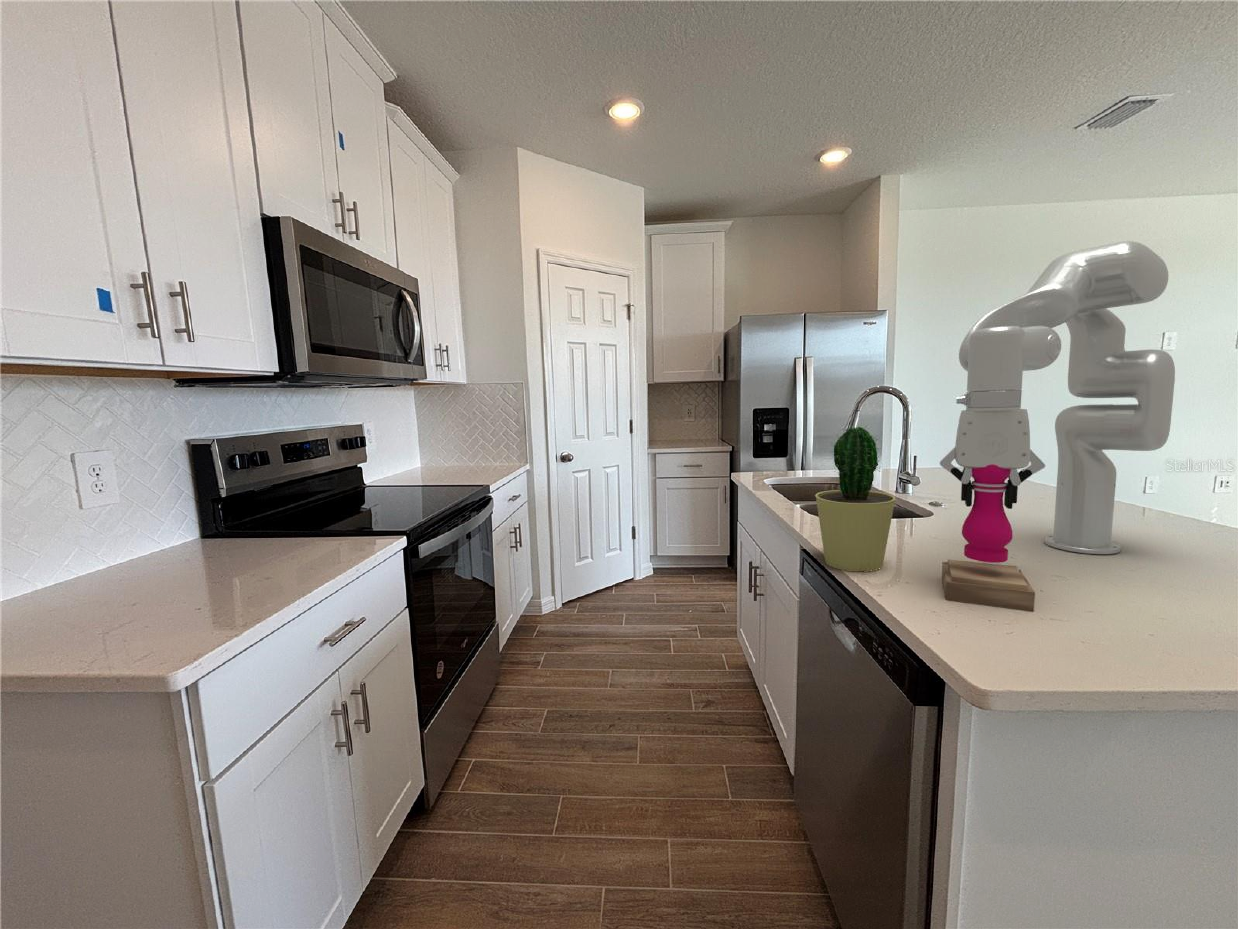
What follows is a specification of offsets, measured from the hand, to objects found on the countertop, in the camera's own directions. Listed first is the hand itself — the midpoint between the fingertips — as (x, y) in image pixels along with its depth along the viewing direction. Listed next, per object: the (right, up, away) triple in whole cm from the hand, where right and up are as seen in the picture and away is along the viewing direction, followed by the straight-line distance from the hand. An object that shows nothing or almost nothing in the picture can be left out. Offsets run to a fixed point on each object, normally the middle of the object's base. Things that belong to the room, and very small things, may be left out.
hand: (987, 505), depth 88 cm
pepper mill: (0, -10, +1) cm, 10 cm away
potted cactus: (-14, -14, +21) cm, 29 cm away
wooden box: (+1, -16, +2) cm, 16 cm away
